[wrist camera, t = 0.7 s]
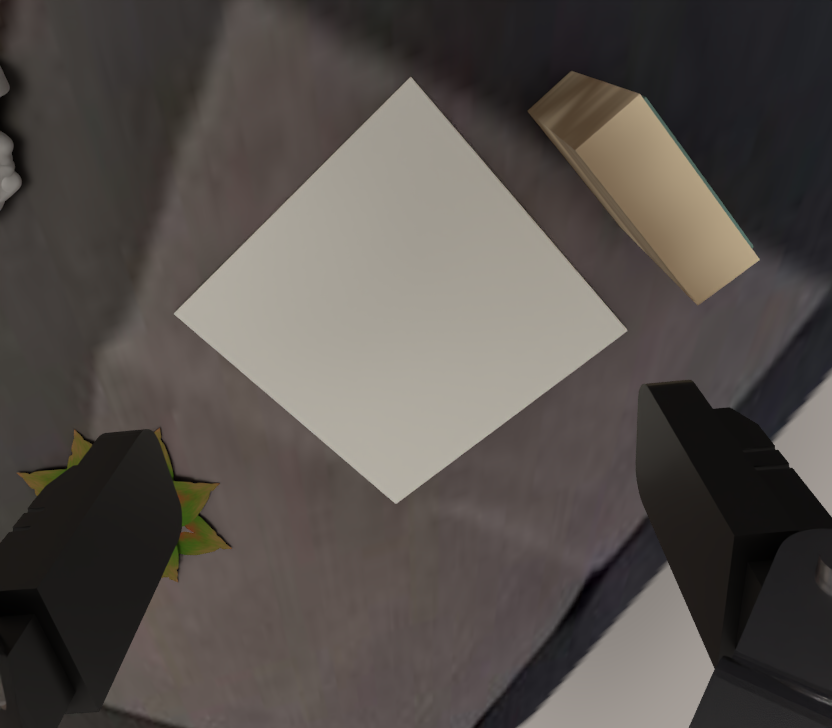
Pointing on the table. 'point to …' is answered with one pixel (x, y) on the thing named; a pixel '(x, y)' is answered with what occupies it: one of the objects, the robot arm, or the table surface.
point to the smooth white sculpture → (7, 157)
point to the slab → (645, 182)
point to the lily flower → (189, 497)
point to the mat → (401, 300)
